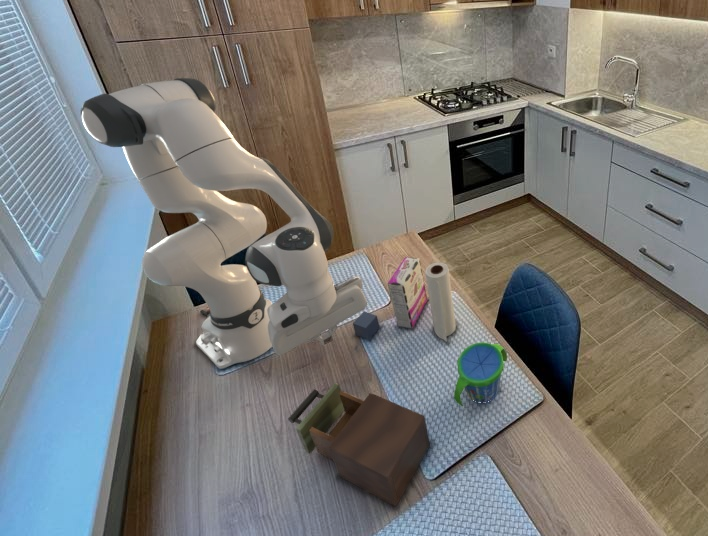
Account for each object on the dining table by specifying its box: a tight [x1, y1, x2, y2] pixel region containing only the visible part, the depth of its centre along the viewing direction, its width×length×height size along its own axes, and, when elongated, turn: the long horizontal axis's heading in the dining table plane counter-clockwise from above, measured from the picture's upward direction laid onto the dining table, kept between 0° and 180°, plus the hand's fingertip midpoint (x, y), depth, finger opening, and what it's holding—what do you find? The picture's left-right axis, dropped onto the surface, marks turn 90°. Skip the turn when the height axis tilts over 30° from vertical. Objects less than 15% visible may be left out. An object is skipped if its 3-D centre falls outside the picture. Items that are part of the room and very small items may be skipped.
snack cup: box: [453, 342, 508, 407], centre depth 94 cm, size 16×10×10 cm
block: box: [352, 310, 380, 341], centre depth 112 cm, size 5×5×5 cm
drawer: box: [287, 382, 364, 461], centre depth 86 cm, size 18×11×8 cm, turn 68°
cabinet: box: [329, 392, 431, 508], centre depth 81 cm, size 14×12×10 cm
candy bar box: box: [387, 256, 428, 329], centre depth 115 cm, size 11×5×16 cm, turn 168°
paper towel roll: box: [424, 261, 457, 343], centre depth 108 cm, size 7×6×21 cm
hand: (327, 341), depth 94 cm, fingers closed
